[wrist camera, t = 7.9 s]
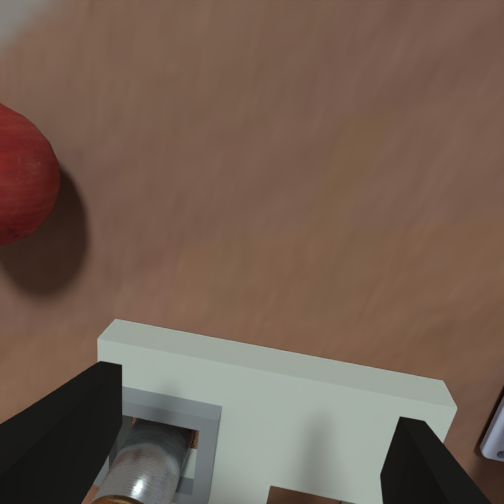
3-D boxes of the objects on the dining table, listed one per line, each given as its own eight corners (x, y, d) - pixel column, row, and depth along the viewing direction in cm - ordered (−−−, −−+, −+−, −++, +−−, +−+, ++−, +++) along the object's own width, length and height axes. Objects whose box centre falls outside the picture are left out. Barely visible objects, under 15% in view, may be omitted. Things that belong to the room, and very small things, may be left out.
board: (443, 380, 20) (465, 424, 17) (368, 569, 26) (376, 625, 23) (115, 318, 21) (87, 350, 18) (114, 512, 27) (92, 558, 24)
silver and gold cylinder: (201, 401, 23) (159, 522, 16) (194, 444, 24) (152, 572, 17) (144, 388, 23) (80, 501, 16) (140, 431, 24) (79, 553, 17)
